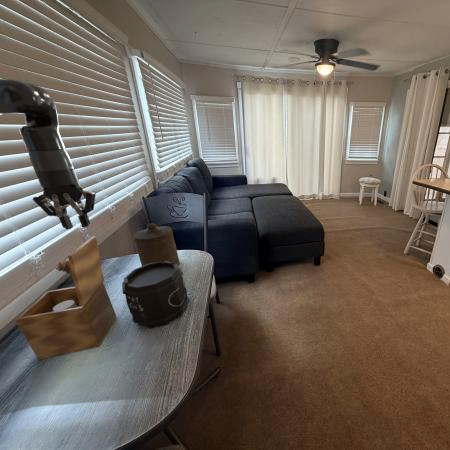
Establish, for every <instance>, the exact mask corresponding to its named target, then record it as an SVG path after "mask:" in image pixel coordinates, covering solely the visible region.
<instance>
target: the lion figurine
mask: <svg viewBox="0 0 450 450" xmlns="http://www.w3.org/2000/svg"><path fill="white" fill-rule="evenodd" d="M57 263H58V265H57V267H56V268H55V270H57V271H58V272H61V271H62V272H64V273H67V274H69V276H70V277H71V279H70V280H71V281H74V280H73V275H72V271H71V267H70V263H69V260H65V259H64V260H60V261H58V262H57Z"/></svg>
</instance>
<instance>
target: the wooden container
mask: <svg viewBox="0 0 450 450" xmlns="http://www.w3.org/2000/svg"><path fill="white" fill-rule="evenodd" d="M133 239H134V243H135V246H136V249H137V254H138V258H139V261H140V265H141V266H144V265H146V264H149V263H155V262H161V261H163V262H165V261H167V262H173V263H175V264H176V265H179V266H180V265H181V263H180V258H179V253H178V249H177V246H176V242H175V238H174V233H173V230H172V228H171V226H167V225H158V226H157V224H155V223H153V222H151V223H149V224H147V225H146V228H144V229H141V230H139V231H137V232H135V233H134V234H133Z"/></svg>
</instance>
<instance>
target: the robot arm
mask: <svg viewBox="0 0 450 450" xmlns="http://www.w3.org/2000/svg"><path fill="white" fill-rule="evenodd" d="M6 114H7V115H8V114H11V115H12V114H20V115H21V114H23V115H24V121H25V125H23V126H21V127H20V129H19V133H20V134H19V135H20V136H21V138H22V141H23V144H24V146H25V149H26V151H27V153H28V158H29V161H30V163H31V166H32V169H33V170H34V173H35V175H36V177H37V180H38V183H39V184H40V187H42V189H43V190H42V194H40V195H39V194H38V195H37V196H34V197H32V200H33V202H34V203H35V204H36V205H37V206H38V207H39V208H40V209H41V210H42V211H44V213H45V214H46V215H47V216H48V217H57V218H58V219H59V221H60V224H61V226H62V227H63V229H65V230H71V229H72V228H73V227H74V226H73V223H72V219H71V218H70V215H69V214H68V210H67V208H68V206H70V207H71V208H72V209H74V211H75V212H76V214H77V215H78V216H77V217H78V221H79V223H80V225H81V228H83V229H85V228H86V229H87V228H88V227H89V225H90V224H91V221H90V218H89V215H88V214H89V213H91V212H93V211H94V210H95V203H96V202H95V201H96V195H97V193H96V191H94V190H92V191H89V190H84V189H83V188H82V187H81V185H80V182H79V178H78V176H77V173H76V171H75V168H74V164H73V162H72V159H71V157H70V155H69V154H68V152H67V149H66V147H65V143H64V142H63V139H62V135H60V130H59V129H60V126H59V125H60V123H59V117H58V110H57V106H56V103H55V101H54V99H53V97H52V96H51V95H50V93H49V92H48V91H47V90H46V89H44V88H43V87H41V86H39V85H37V84H33V83H29V82H26V81H22V80H18V79H12V78H11V79H10V78H9V79H8V78H0V116H1V115H6ZM82 196H83V198H84V199H85V203H84V202H83V200H82ZM49 200H50V201H49ZM51 202H53V204H52V203H51Z"/></svg>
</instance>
